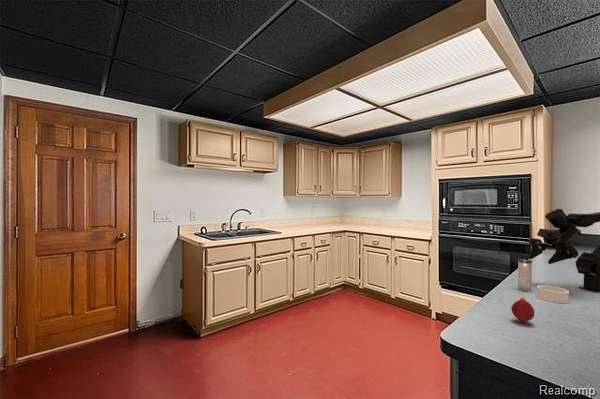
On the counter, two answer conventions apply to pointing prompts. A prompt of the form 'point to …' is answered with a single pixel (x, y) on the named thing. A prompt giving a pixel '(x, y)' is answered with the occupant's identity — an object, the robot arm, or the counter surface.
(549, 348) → the counter surface
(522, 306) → the onion
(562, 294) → the bowl
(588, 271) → the robot arm
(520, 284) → the canister
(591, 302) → the counter surface
